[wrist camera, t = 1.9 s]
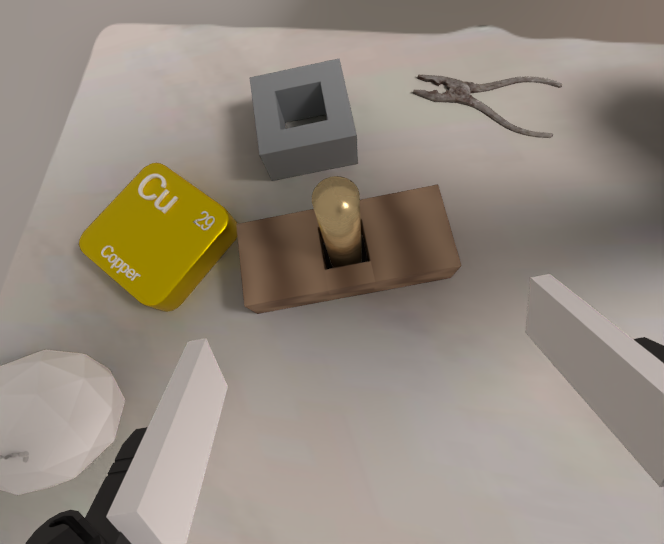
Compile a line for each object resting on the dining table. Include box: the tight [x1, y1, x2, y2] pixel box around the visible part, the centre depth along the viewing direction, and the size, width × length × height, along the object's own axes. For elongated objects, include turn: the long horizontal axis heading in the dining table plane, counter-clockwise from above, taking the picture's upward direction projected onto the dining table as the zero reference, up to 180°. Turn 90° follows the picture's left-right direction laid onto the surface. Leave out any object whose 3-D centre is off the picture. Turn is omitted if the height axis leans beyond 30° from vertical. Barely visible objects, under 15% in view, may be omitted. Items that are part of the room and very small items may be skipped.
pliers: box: [413, 75, 562, 138], centre depth 49 cm, size 10×1×20 cm
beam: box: [236, 185, 461, 314], centre depth 43 cm, size 24×10×5 cm, turn 100°
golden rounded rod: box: [312, 176, 362, 268], centre depth 37 cm, size 4×4×16 cm
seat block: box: [250, 59, 358, 181], centre depth 48 cm, size 12×12×6 cm
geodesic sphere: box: [0, 349, 125, 495], centre depth 36 cm, size 14×14×14 cm
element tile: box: [79, 163, 237, 312], centre depth 46 cm, size 15×15×5 cm
